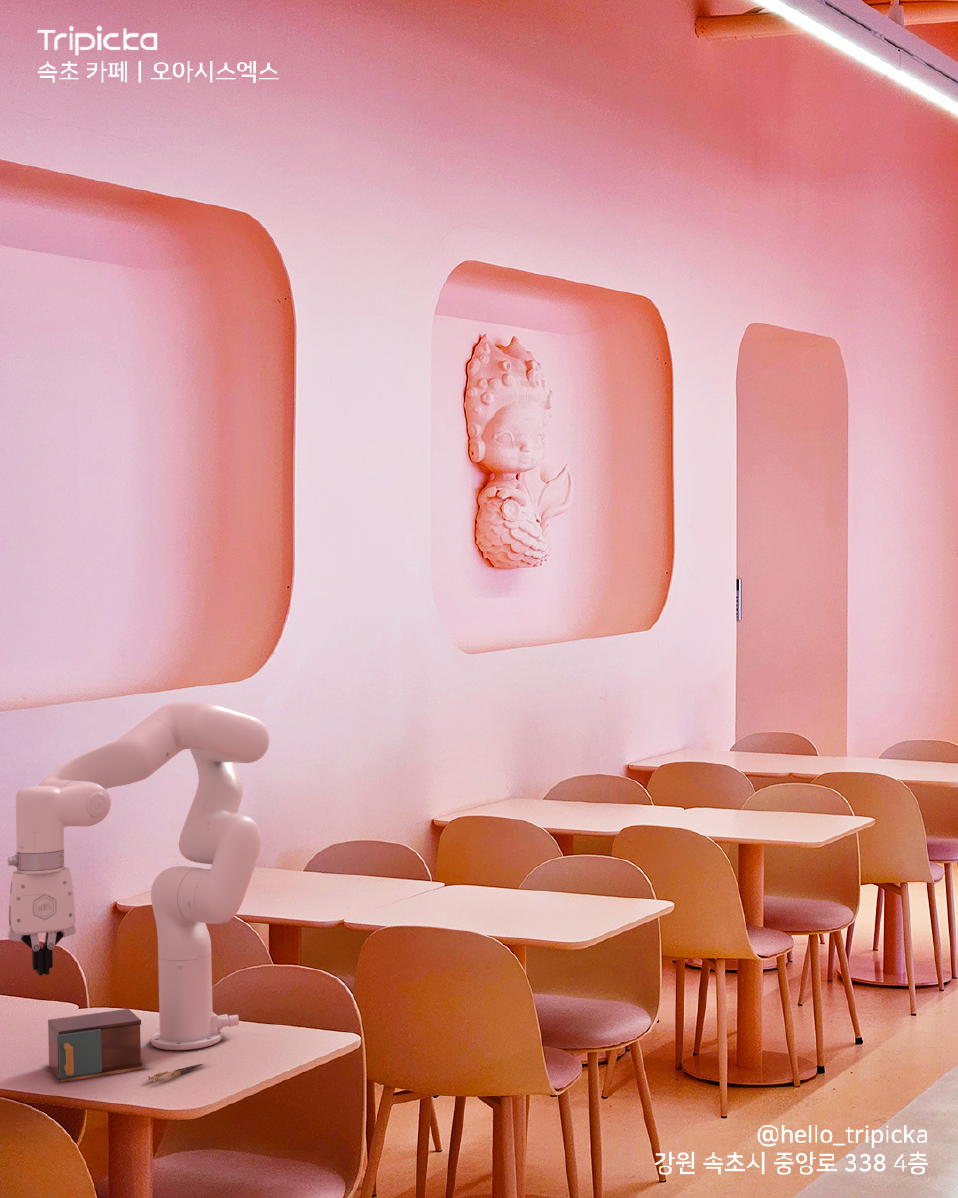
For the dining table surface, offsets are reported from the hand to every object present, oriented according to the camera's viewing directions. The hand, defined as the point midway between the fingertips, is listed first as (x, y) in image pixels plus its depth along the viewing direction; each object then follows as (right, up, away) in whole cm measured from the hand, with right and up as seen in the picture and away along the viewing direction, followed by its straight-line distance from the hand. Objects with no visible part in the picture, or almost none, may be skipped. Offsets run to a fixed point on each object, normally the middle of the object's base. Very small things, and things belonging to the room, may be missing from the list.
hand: (42, 973), depth 252 cm
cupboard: (+6, -19, +12) cm, 23 cm away
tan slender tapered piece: (+21, -19, +5) cm, 29 cm away
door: (+6, -19, +4) cm, 20 cm away
